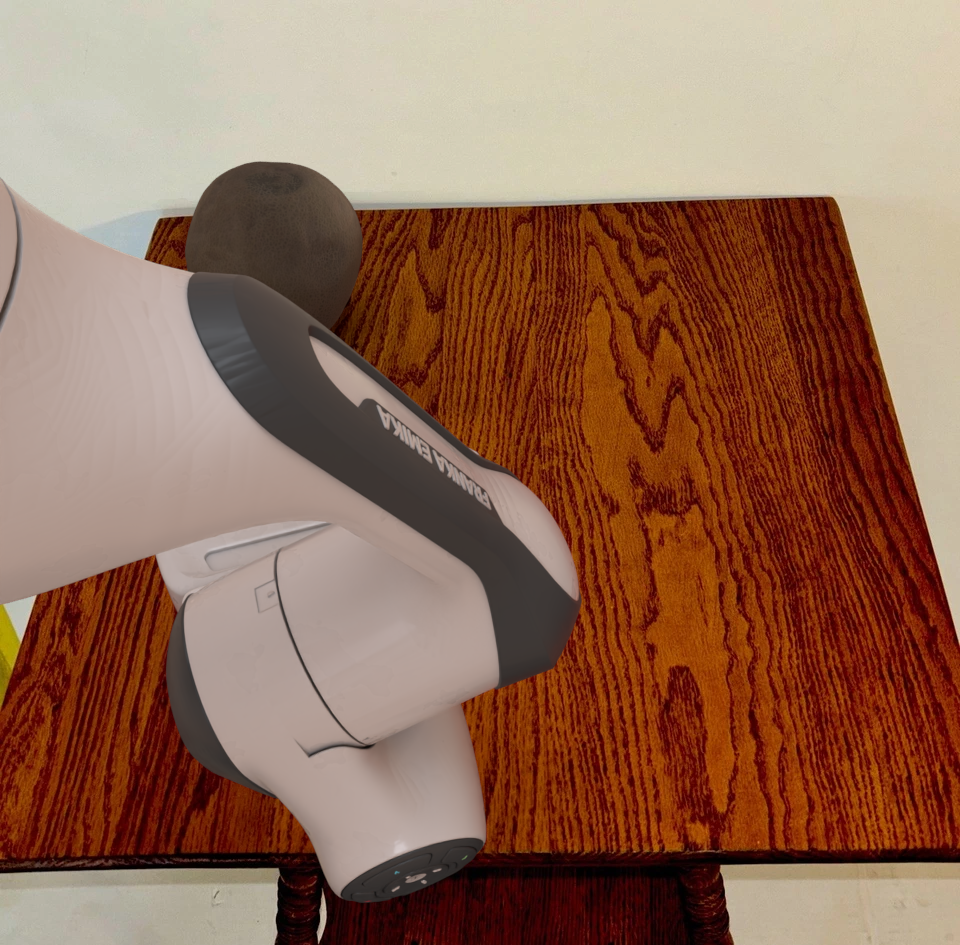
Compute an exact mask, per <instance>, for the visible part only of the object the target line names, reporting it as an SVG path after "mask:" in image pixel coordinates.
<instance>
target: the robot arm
mask: <svg viewBox="0 0 960 945" xmlns="http://www.w3.org/2000/svg"><path fill="white" fill-rule="evenodd" d="M153 556H155V558H156V562H157V566H158V569H159V571H160V572H159V573H160V574H161V577H162V580H163V583H164V585H165V587H166V590H167V592H168V594H169V596H170V599H171V601H172V604H173V606H174V609H175V611H176V612H177V613H176V616H175V618H174V621H173V623H172V627H171V631H170V635H169V641H168V648H167V653H166V666H165V675H166V676H165V677H166V687H167V693H168V700H169V703H170V708H171V712H172V716H173V720H174V722H175V725H176V728H177V731H178V734H179V736H180V739H181V741H182V742H183V745H184V746H185V747H186V750H187V751H188V753H189V754H190V755H191V756H192V757H193V758H194V759H195V760H196V761H197V762H198V763H199V764H200V765H201V766H203V767H204V768H205V769H207V770H208V771H210V773H211V772H212V774H215V775H217V776H220V777H221V778H225V779H226V780H229V781H231V782H233V783H236V784H238V785H240V786H243V787H245V788H247V789H250V790H252V791H255V792H258V793H260V794H262V795H265V796H268V797H271V798H273V799H277V800H279V801H280V803H282V804H283V806H285V808H286V809H288V810H289V812H290V814H292V815H293V817H294V818H295V819H296V821H297V822H298V823H299V824H300V826H301V827H302V829H303V830H304V832H305V833H306V835H307V837H308V839H309V840H310V843H311V845H312V847H313V849H314V852H315V854H316V857H317V859H318V862H319V865H320V867H321V870H322V872H323V875H324V877H325V879H326V881H327V884H328V886H329V888H330V889H331V890H332V892H333V893H334V894H335V895H336V896H338V897H339V898H341V899H343V900H345V901H350V902H351V901H352V902H356V903H360V904H364V903H365V904H367V903H368V904H369V903H377V902H384V901H385V902H386V901H389V900H392V899H394V898H397V897H402V896H407V895H410V894H412V893H415V892H417V891H420V890H422V889H425V888H427V887H429V886H432V885H434V884H435V883H438V882H440V881H442V880H444V879H445V878H447V877H450V876H452V875H455V874H456V873H457V872H460V871H461V869H463V868H464V867H465V866H466V865H467V864H469V863H470V862H472V861H473V860H474V859H475V857H476V856H477V854H478V853H479V852H480V851H481V850H482V849H483V847H484V846H485V843H486V840H487V822H486V812H485V803H484V796H483V791H482V784H481V779H480V774H479V769H478V763H477V759H476V754H475V750H474V749H475V748H474V745H473V742H472V737H471V733H470V731H469V730H470V729H469V726H468V723H467V720H466V715H465V712H464V709H463V705H462V704H463V703H465V702H467V701H470V700H472V699H473V698H476V697H478V696H480V695H482V694H484V693H486V692H489V691H491V690H493V689H494V690H500V689H503V688H505V687H509V686H511V685H513V684H516V683H518V682H522V681H524V680H527V679H529V678H532V677H534V676H535V677H536V676H537V675H540V674H543V673H545V672H548V671H551V670H553V669H555V666H556V664H557V663H558V661H559V659H560V657H561V656H562V654H563V652H564V650H565V648H566V646H567V644H568V641H569V640H570V637H571V635H572V632H573V630H574V628H575V625H576V623H577V618H578V616H579V613H580V610H581V607H582V603H583V602H582V594H581V591H580V585H579V579H578V573H577V569H576V565H575V561H574V559H573V558H574V557H573V555H572V553H571V550H570V547H569V545H568V543H567V541H566V538H565V537H564V535H563V533H562V530H561V529H560V527H559V524H558V523H557V521H556V519H555V518H554V517H553V515H552V514H551V512H550V511H549V509H548V508H547V506H546V505H545V504H544V503H543V501H542V500H541V499H540V498H539V497H538V496H537V495H536V494H535V493H534V491H532V490H531V489H530V488H529V487H528V486H527V485H525V484H524V483H523V482H522V481H521V480H520V479H519V478H518V476H517V475H515V474H514V473H513V472H512V471H511V470H510V469H508V468H506V467H505V466H503V465H502V464H501V465H500V464H499V463H496V462H495V461H492V460H490V459H487V458H485V457H484V456H481V455H480V453H479V452H478V451H476V450H474V449H472V448H470V447H469V446H467V445H466V444H465V443H463V442H462V441H461V440H460V439H458V438H457V437H456V436H455V435H454V434H453V433H452V432H450V430H448V429H447V428H446V427H445V426H444V425H442V424H441V423H440V422H439V421H438V420H437V419H435V417H433V416H432V415H431V414H430V413H428V412H427V411H426V409H424V408H422V407H421V405H419V404H418V403H417V402H416V401H415V400H414V399H413V398H411V397H410V396H409V395H407V393H406V392H404V390H402V389H401V388H400V387H398V386H397V385H396V384H395V383H394V382H393V381H391V380H390V379H389V378H388V377H387V376H386V375H385V374H383V373H382V372H381V370H379V369H377V368H376V367H375V366H374V365H372V364H371V363H370V362H369V361H368V360H367V359H365V358H364V357H363V356H362V355H361V354H359V353H358V352H357V351H356V350H355V349H353V347H352V346H350V345H348V344H347V343H346V342H345V341H344V340H342V338H340V337H339V336H337V335H336V334H335V333H333V331H331V329H330V330H329V329H327V328H326V327H325V326H324V325H322V324H321V323H320V322H318V321H317V320H316V319H315V318H313V317H312V316H311V315H309V314H308V313H306V312H305V311H304V310H302V309H301V308H300V307H298V306H297V305H295V304H294V303H293V302H291V301H290V300H288V299H287V298H285V297H284V296H282V295H281V294H279V293H278V292H276V291H275V290H273V289H271V288H270V287H268V286H267V285H265V284H263V283H262V282H260V281H258V280H256V279H254V278H252V277H249V276H246V275H235V274H222V273H208V272H197V273H193V272H189V271H188V270H184V269H180V268H176V267H171V266H168V265H164V264H160V263H156V262H153V261H151V260H146V259H145V258H144V259H143V258H141V257H138V256H135V255H132V254H129V253H126V252H124V251H121V250H118V249H117V248H113V247H111V246H110V245H106V244H104V243H102V242H99V241H97V240H94V239H92V238H90V237H88V236H86V235H84V234H83V233H81V232H78V231H76V230H74V229H72V228H71V227H68V226H67V225H65V224H64V223H61V222H60V221H58V220H57V219H55V218H53V217H52V216H50V215H48V214H46V213H45V212H44V211H42V210H41V209H40V208H38V207H37V206H35V205H33V204H32V203H31V202H29V201H28V200H27V199H26V198H24V197H23V196H22V195H20V194H19V193H18V192H17V191H16V190H14V189H13V188H12V187H11V186H10V185H9V184H8V183H7V182H6V181H5V180H4V179H3V178H1V177H0V606H1V605H5V604H10V603H14V602H17V601H21V600H24V599H25V600H26V599H28V598H31V597H35V596H37V595H41V594H44V593H47V592H50V591H53V590H56V589H59V588H62V587H64V586H68V585H71V584H74V583H77V582H80V581H82V580H85V579H88V578H91V577H94V576H97V575H99V574H102V573H105V572H109V571H112V570H114V569H117V568H120V567H123V566H125V565H129V564H131V563H136V562H137V561H140V560H144V559H147V558H149V557H153Z"/></svg>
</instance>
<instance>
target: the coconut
mask: <svg viewBox="0 0 960 945" xmlns="http://www.w3.org/2000/svg"><path fill="white" fill-rule="evenodd" d="M363 244H364V243H363V232H362V228H361V225H360V220H359V218H358V215H357V212H356V210H355V208H354V206H353V204H352V203H351V201H350V200H349V199H348V197H347V196H346V195H345V193H344V192H343V191H342V190H341V189H340V188H339V187H338V186H337V185H336V184H335V183H334V182H333V181H331V179H329V178H328V177H326V176H325V175H323V174H322V173H321V172H318V171H317V170H315V169H312V168H310V167H308V166H305V165H301V164H299V163H292V162H284V161H260V160H259V161H251V162H246V163H243V164H240V165H238V166H235V167H232V168H230V169H229V170H226V171H224V172H223V173H221V174H219V175H218V176H217V177H215V178H214V179H213V180H212V181H211V182H210V184H209V185H208V186H207V187H206V188H205V189H204V191H203V192H202V193H201V196H200V198H199V200H198V201H197V204H196V206H195V209H194V211H193V214H192V218H191V222H190V224H189V228H188V230H187V237H186V242H185V248H184V257H185V263H186V269H187V270H186V271H189V272H193V273H197V272H208V273H222V274H235V275H246V276H249V277H252V278H254V279H256V280H258V281H260V282H262V283H263V284H265V285H267V286H268V287H270V288H271V289H273V290H275V291H276V292H278V293H279V294H281V295H282V296H284V297H285V298H287V299H288V300H290V301H291V302H293V303H294V304H295V305H297V306H298V307H300V308H301V309H302V310H304V311H305V312H306V313H308V314H309V315H311V316H312V317H313V318H315V319H316V320H317V321H318V322H320V323H321V324H322V325H324V326H325V327H326V328H327V329H329V330H330V331H331V329H332V328H333V326H334V325H335V324H336V323H337V321H338V320H339V318H340V317H341V315H342V313H343V311H344V310H345V307H346V305H347V303H348V302H349V300H350V298H351V295H352V294H353V291H354V288H355V286H356V283H357V280H358V277H359V273H360V268H361V264H362V256H363V246H364V245H363Z"/></svg>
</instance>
